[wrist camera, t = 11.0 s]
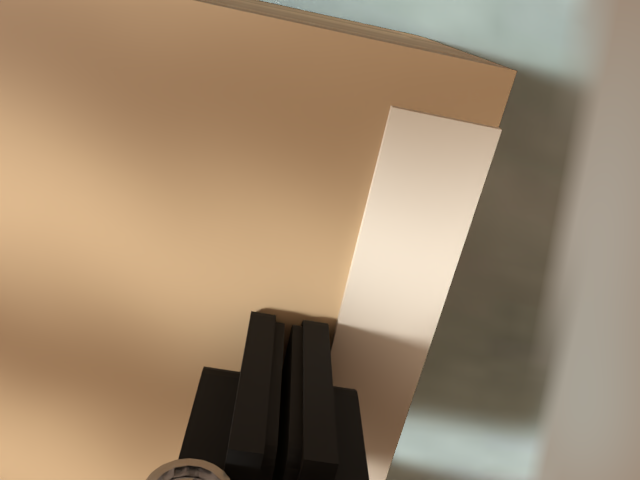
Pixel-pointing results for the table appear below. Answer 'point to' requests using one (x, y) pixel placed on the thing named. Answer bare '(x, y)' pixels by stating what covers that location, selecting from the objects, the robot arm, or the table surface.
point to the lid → (217, 215)
